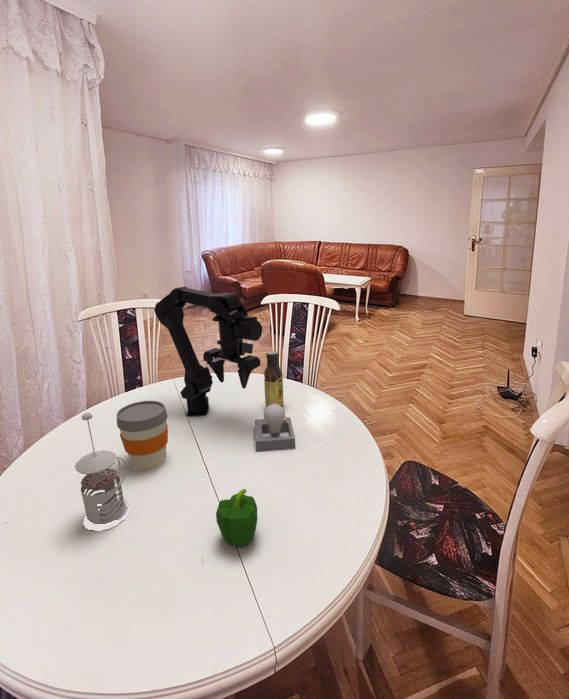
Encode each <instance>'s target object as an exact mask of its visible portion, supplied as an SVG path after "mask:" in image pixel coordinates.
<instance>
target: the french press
mask: <svg viewBox="0 0 569 699" xmlns="http://www.w3.org/2000/svg"><path fill="white" fill-rule="evenodd" d="M92 418H93V414H92V413H91V412H90V411H89V412H84V413H83V414H82V415H81V420H82V421H87V425H88V431H89V435H90V436H89V437H90V439H91V440H90V441H91V444H92V452H89V453H87V454H86V455H84V456H82V457H80V459H79V460H77V461H76V463H75V465H74V469H75V471H76V472H78V473H79V474H82V475H85V476H84V477H83V478H82V480H81V481H80V485H81V487H80V493H81V497H82V502H83V506H84V510H85V515H86V516H87V519H88V520H89V521H90V522H92V523H94V524H106V523H109V522H112V521H114V520H119V519H121V518H122V517H123V516H124V515H125V514H126V512H127V509H128V507H127V505H126V503H127V502H125V499H124V494H123V488H122V484H123V483H124V480H125V478H126V477H127V476H126V474H127V466H126V461H125V460H124V458H123V457H120V456H117V454H116V453H115V452H113V451H111V450H105V449H104V450H97V451H95V447H94V441H93V437H92V436H93V435H92V432H91V427H90V421H89V420H91V419H92ZM120 460H121V461H122V462H123V464H124V475H123V478H122V480H121V478H120V474H121V462H120ZM116 461H117V462H118V467H119V468H118V472H117V470H116V469H114V468H112V466H113V465H114V464H116ZM115 484H116V485H115ZM90 490H91V491H90ZM99 491H100V492H99ZM117 491H118V492H117ZM94 492H96V493H94ZM93 493H94V494H93ZM119 500H120V501H119ZM124 502H125V503H124ZM97 504H102V506H97ZM98 509H100V510H99V511H98Z"/></svg>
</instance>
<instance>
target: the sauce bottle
mask: <svg viewBox="0 0 569 699" xmlns="http://www.w3.org/2000/svg"><path fill="white" fill-rule="evenodd" d="M265 354H266V365H267V366H266V367H265V369H264V371H263V378H264V381H263V382H264V383H263V384H264V402H265V408H266V407H267V406H269V405H271V404H278V405H280V406H281V407H282V408H283V409H284V378H283V376H284V375H283V372H282V369H281V367H280V364H279V357H280V356H279V351H276V350H269V351H268V350H267V352H266V353H265Z"/></svg>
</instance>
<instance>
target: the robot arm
mask: <svg viewBox="0 0 569 699" xmlns="http://www.w3.org/2000/svg"><path fill="white" fill-rule="evenodd" d="M187 303H188V304H192V305H195V306H200V307H203V308H206V309H208V310H209V311H210V312H211V313H213V314H215V316H214V317H213V318H212V322H218V333H219V334H218V335H219V340H216V344H217V345H219V347H220V348H217V347H214V348H211V349H208V350H205V351H204V353H203V354H202V355H203V356H202V358H203V362H206V365H208V366H209V367H208V366H205V367H204V366H203V365H202V364H200V361H199V359H198V357H197V355H196V352H195V349H194V347H193V345H192V343H191V341H190V338H189V335H188V332H187V330H186V328H185V325H184V318H185V313H184V308H185V307H186V305H187ZM153 310H154V314H155V316H156V318H157V319H158V321H159V323H160V324H161V325H162V326H164V327H165V328H166V329H167V330H168V332H169V335H170V337H171V340H172V342H173V344H174V347H175V348H176V351H177V353H178V356H179V359H180V361H181V364H182V365H183V368H184V376H183V381H184V384H185V386H184V387H183V388H182V390H180V392H179V394H180V396H181V398H182V399H184V400H186V407H187V414H186V416H187V417H194V416H206V415H208V412H209V410H210V401H209V400H210V399H209V396H207V393H210V392H211V389H212V386H213V383H214V382H213V376H212V374H211V372H210V369H211V370H212V371H213V373H214V375H216V377H217V379H218V380H219V382H220V383H223V382H224V381H225V367H224V365H225V362H230V363H235V364H236V365H237V368H238V369H237V375H238V378H239V381H240V385H241V387H242V389H246V388H247V385H248V382H249V379H250V375H251V374H252V372H253V371H254V370H256V369H257V368H259V367H261V358H259V357H258V356H256V355H252V354H253V349H254V343H248V342H244V341H243V340H245V341H247V340H248V341H252V342H253V341H254V342H256V341H259V340H260V339H261V336H262V334H263V326H262V323H261V322H260V321H259V320H258V317H257V316H255V315H253V316H252V315H251V316H249V313H248V311H247V310H246V308H245V306H244V305H243V304H242V302H241V300H240V298H239V297H238V294H236V293H235V292H220V293H212V292H207V291H204V290H203V291H202V290H198V289H193V288H190V287H187V286H180V287H175V288H173V289H172V290H171V291H170V292H169V293H168V294H166V296H164V297H163V298H162V299H161V300H160V301H158V302H156V303H155V306H154V309H153ZM246 354H249V355H246ZM245 355H246V356H245ZM241 356H243V357H241ZM209 368H210V369H209Z"/></svg>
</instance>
